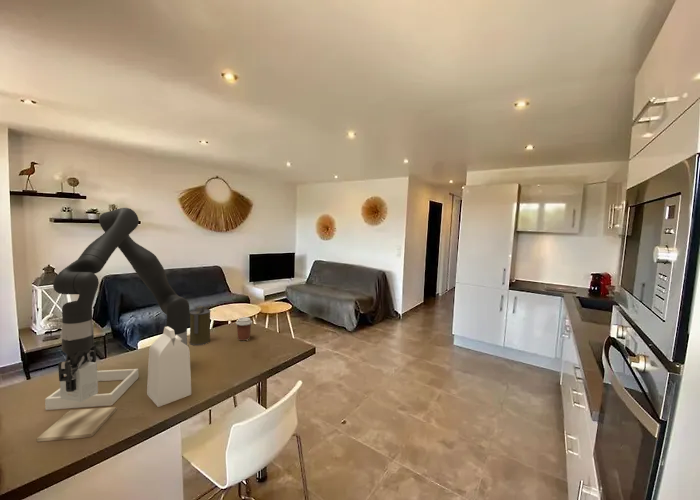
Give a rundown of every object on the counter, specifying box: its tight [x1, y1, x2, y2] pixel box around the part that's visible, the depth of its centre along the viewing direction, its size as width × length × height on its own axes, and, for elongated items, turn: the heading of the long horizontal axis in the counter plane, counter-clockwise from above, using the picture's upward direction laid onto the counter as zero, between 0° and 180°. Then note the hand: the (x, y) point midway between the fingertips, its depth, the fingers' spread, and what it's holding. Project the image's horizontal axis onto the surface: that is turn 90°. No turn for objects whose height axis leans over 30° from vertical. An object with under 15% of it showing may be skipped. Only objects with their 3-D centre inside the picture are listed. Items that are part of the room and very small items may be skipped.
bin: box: [44, 368, 139, 411], centre depth 116 cm, size 20×20×4 cm
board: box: [36, 406, 118, 443], centre depth 98 cm, size 14×14×1 cm
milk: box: [146, 326, 192, 408], centre depth 116 cm, size 12×12×26 cm
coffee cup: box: [235, 316, 253, 341], centre depth 175 cm, size 9×9×12 cm
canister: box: [189, 305, 211, 346], centre depth 168 cm, size 11×10×20 cm
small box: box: [59, 361, 99, 402], centre depth 97 cm, size 8×6×10 cm
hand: (79, 384), depth 97 cm, fingers closed on small box, 7 cm apart
